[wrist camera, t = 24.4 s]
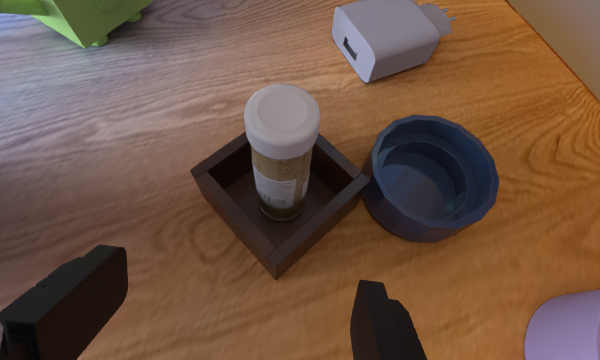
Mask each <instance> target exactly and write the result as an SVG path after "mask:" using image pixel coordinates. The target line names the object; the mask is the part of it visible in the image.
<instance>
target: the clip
mask: <svg viewBox="0 0 600 360" xmlns="http://www.w3.org/2000/svg"><path fill="white" fill-rule="evenodd" d="M524 352H525V360H600V289H599V290H593V291H586V292H580V293H574V294H567V295H561V296H557V297H555V298H552V299H550V300H548V301H546V302H545V303H544V304H542V305H541V306H540V307H539V308H538V309H537V310H536V312H535V313H534V314H533V316H532V318H531V320H530V322H529V324H528V327H527V331H526V336H525V345H524Z"/></svg>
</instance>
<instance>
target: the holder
mask: <svg viewBox="0 0 600 360" xmlns="http://www.w3.org/2000/svg"><path fill="white" fill-rule="evenodd" d="M309 170H310V173H309V180H308V186H307V191H306V194H305V197H306V202H305V205H304V208H303V210H302V212H301V213H300V214H299V215H298V216H297V217H296V218H293V219H291V220H289V221H282V222H280V221H275V220H272V219H270V218H268V217H267V216H266V215H264V214H263V213H262V211H261V209H260V207H259V204H258V192H257V189H256V183H255V177H254V170H253V163H252V151H251V144H250V142H249V140H248V138H247V135H246V132H244V133H243V134H241V135H240V136H238V137H237V138H236V139H234V140H233V141H231V142H230V143H228V144H227V145H225V146H224V147H222V148H221V149H220V150H218V151H217V152H215V153H214V154H212V155H211V156H209V157H208V158H207V159H205V160H204V161H202V162H201V163H199V164H198V165H196V166H195V167H194V168H192V169H191V170H190V172H191V174H192V175H193V177H194V179H195V181H196V183H197V185H198V187H199V189H200V191H201V193H202V195H203V196H204V198H205V199H206V201H207V202H208V203H209V204H210V205H211V206H212V208H213V209H214V210H215V211H216V212H217V213H218V214H219V216H220V217H221V218H222V219H223V220H224V221H225V223H226V224H227V225H228V226H229V227H230V228H231V229H232V231H233V232H234V233H235V234H236V235H237V236H238V238H239V239H240V240H241V241H242V242H243V243H244V244H245V246H246V247H247V248H248V249H249V250H250V251H251V253H252V254H253V255H254V256H255V257H256V258H257V259H258V261H259V262H260V263H261V264H262V265H263V266H264V268H265V269H266V270H267V271H268V272H269V273H270V274H271V276H272V277H273V278H274V279H275V280H277V279H278V278H279V277H280V276H281V275H282V274H283V273H284V272H286V271H287V270H288V269H289V268H290V267H291V266H292V265H293V264H294V263H295V262H296V261H297V260H299V259H300V258H301V257H302V256H303V255H304V254H305V253H306V252H307V251H308V250H309V249H310V248H311V247H313V246H314V245H315V244H316V243H317V242H318V241H319V240H320V239H321V238H322V237H323V236H324V235H326V234H327V233H328V232H329V231H330V230H331V229H332V228H333V227H334V226H335V225H336V224H337V223H338V222H340V221H341V220H342V219H343V218H344V217H345V216H346V215H347V214H348V213H349V212H350V211H351V210H353V209H354V208H355V207H356V205H357V203H358V202H359V200H360V199H361V197H362V195H363V193H364V192H365V190H366V188H367V186H368V185H369V183H370V181H371V180H370V179H369V178H368V177H367V176H366V175H364V174H363V173H362V172H361V171H360V170H359V169H358V168H357V167H356V166H355V165H354V164H352V163H351V162H350V161H349V160H348V159H347V158H346V157H345V156H344V155H342V154H341V153H340V152H339V151H338V150H337V149H336V148H335V147H334V146H333V145H331V144H330V143H329V142H328V141H327V140H326V139H325V138H324V137H323V136H321V135H320V134H319V133H318V136H317V139H316V142H315V143H314V145H313V149H312V156H311V162H310V169H309Z"/></svg>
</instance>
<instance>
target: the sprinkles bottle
mask: <svg viewBox="0 0 600 360" xmlns="http://www.w3.org/2000/svg"><path fill="white" fill-rule="evenodd" d="M244 122H245V129H246V135H247V138H248V140H249V142H250V144H251V151H252V163H253V170H254V177H255V183H256V189H257V192H258V204H259V207H260V209H261V211H262V213H263V214H264V215H266V216H267V217H268V218H270V219H272V220H275V221H280V222H282V221H289V220H291V219H293V218H296V217H297V216H298V215H299V214H300V213H301V212H302V210H303V208H304V205H305V202H306V197H305V194H306V191H307V186H308V180H309V173H310V170H309V169H310V162H311V156H312V149H313V145H314V143H315V142H316V139H317V136H318V132H319V125H320V110H319V106H318V104H317V102H316V101H315V99H314V98H313V97H312V96H311V95H310V94H309V93H308V92H306V91H305V90H303V89H301V88H299V87H297V86H294V85H289V84H274V85H270V86H266V87H264V88H262V89H260V90H258V91H257V92H256V93H254V94H253V95H252V96H251V97H250V99H249V100H248V102H247V104H246V106H245V110H244Z"/></svg>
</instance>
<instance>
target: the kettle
mask: <svg viewBox="0 0 600 360" xmlns="http://www.w3.org/2000/svg"><path fill="white" fill-rule="evenodd" d="M151 2H153V0H0V13H8V14H23V15H32V16H33V17H35V18H36V19H38V20H39V21H41V22H43V23H44V24H46V25H48V26H49V27H51V28H52V29H54V30H55V31H57V32H59V33H60V34H62V35H63V36H65V37H67V38H68V39H70V40H71V41H73V42H75V43H76V44H78V45H79V46H81V47H83V48H84V49H86V48H88V47H89V46H91V45H92V46H95V47H98V46H102V45H104V44H105V43H107V41H108V37H107V35H106V34H108V33H109V32H111V31H112V30H113V29H115V28H116V27H118V26H119V25H120V24H122V23H123V22H125V21H128V22H135V21H137V20H139V19H140V18H141V13H140V12H139V11H140V10H142V9H143V8H144V7H146V6H147V5H149V4H150V3H151Z"/></svg>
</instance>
